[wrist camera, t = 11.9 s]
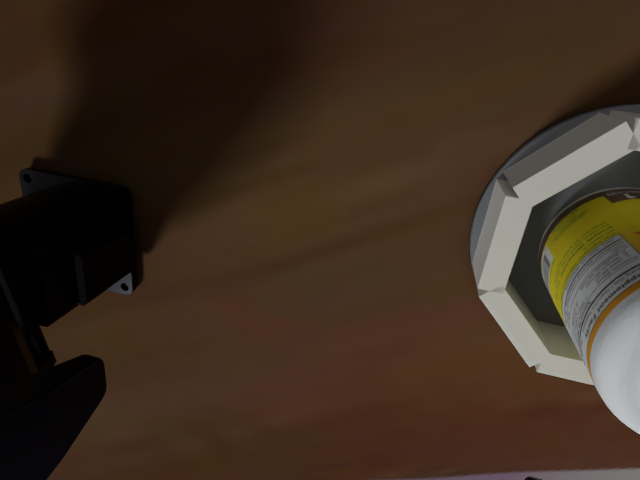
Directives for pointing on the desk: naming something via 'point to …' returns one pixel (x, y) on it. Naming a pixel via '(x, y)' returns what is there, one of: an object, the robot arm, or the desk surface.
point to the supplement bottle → (600, 290)
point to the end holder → (546, 225)
